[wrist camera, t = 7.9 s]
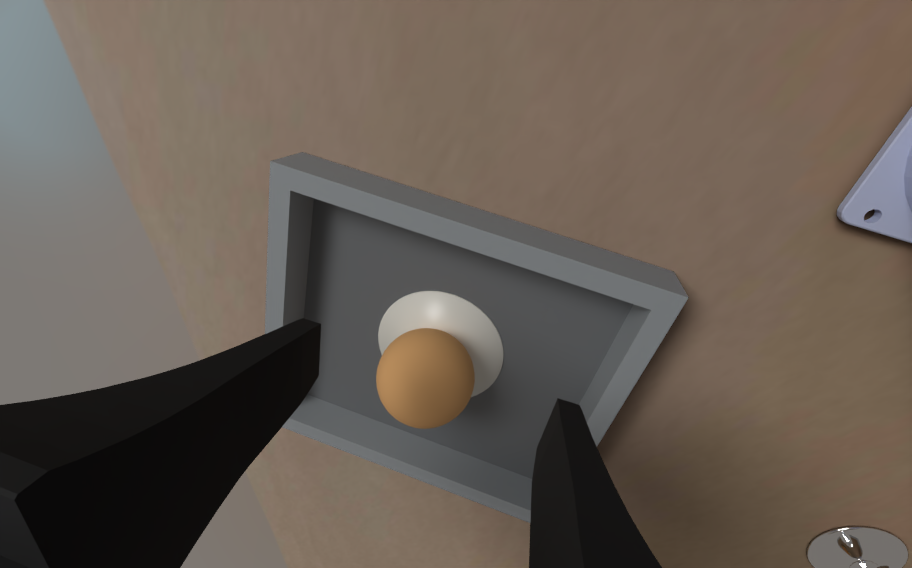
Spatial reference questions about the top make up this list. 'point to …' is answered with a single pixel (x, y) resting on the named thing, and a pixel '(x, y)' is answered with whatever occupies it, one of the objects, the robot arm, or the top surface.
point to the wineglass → (857, 549)
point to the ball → (425, 378)
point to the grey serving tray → (454, 322)
